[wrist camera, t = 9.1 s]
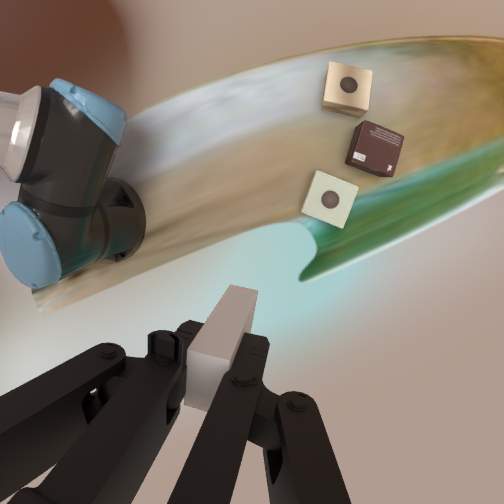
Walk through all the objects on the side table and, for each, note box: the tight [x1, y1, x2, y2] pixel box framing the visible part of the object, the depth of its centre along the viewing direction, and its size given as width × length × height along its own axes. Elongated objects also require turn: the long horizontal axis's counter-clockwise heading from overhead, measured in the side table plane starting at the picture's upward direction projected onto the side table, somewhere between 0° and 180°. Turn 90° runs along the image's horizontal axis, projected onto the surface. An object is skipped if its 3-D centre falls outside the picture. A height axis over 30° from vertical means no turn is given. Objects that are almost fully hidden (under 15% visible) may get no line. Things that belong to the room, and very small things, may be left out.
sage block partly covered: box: [301, 170, 359, 229], centre depth 43 cm, size 6×6×6 cm
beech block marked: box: [322, 61, 372, 118], centre depth 38 cm, size 6×6×6 cm
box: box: [345, 120, 404, 177], centre depth 39 cm, size 6×6×7 cm
